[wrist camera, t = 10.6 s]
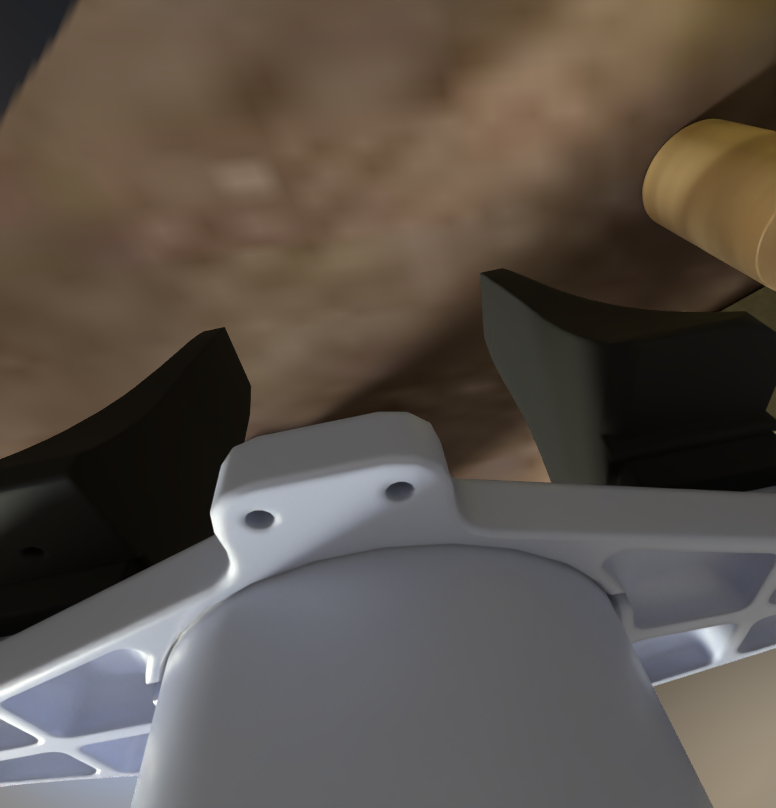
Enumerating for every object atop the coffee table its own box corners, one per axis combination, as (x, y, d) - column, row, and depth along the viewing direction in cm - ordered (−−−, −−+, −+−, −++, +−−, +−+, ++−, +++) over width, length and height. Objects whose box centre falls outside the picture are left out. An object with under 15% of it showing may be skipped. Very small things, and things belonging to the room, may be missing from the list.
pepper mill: (728, 215, 23) (891, 290, 17) (634, 235, 24) (759, 317, 17) (756, 107, 21) (967, 145, 14) (650, 130, 21) (807, 179, 14)
